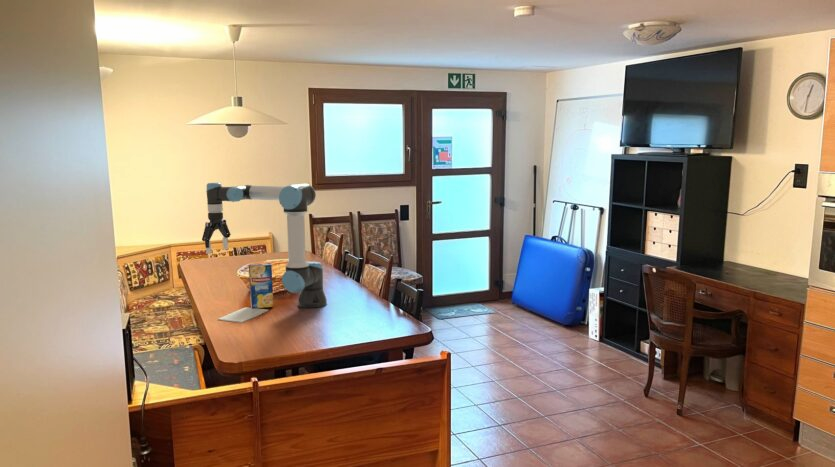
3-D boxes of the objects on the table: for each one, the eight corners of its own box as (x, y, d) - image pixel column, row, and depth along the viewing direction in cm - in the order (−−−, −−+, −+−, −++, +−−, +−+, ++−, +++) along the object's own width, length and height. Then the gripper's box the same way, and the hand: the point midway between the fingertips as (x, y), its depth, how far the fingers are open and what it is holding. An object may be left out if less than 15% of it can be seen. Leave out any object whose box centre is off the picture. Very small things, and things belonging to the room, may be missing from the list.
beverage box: (273, 306, 307) (271, 264, 306) (251, 308, 303) (249, 265, 302) (271, 304, 313) (270, 263, 312) (250, 306, 309) (248, 264, 308)
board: (268, 310, 301) (268, 309, 301) (241, 322, 281) (241, 321, 281) (245, 308, 306) (245, 307, 306) (217, 319, 286) (217, 318, 286)
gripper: (224, 209, 323) (226, 247, 326) (193, 214, 300) (195, 255, 303) (236, 209, 321) (237, 248, 324) (205, 214, 298) (207, 255, 301)
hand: (217, 251), depth 314 cm, fingers open, 13 cm apart
